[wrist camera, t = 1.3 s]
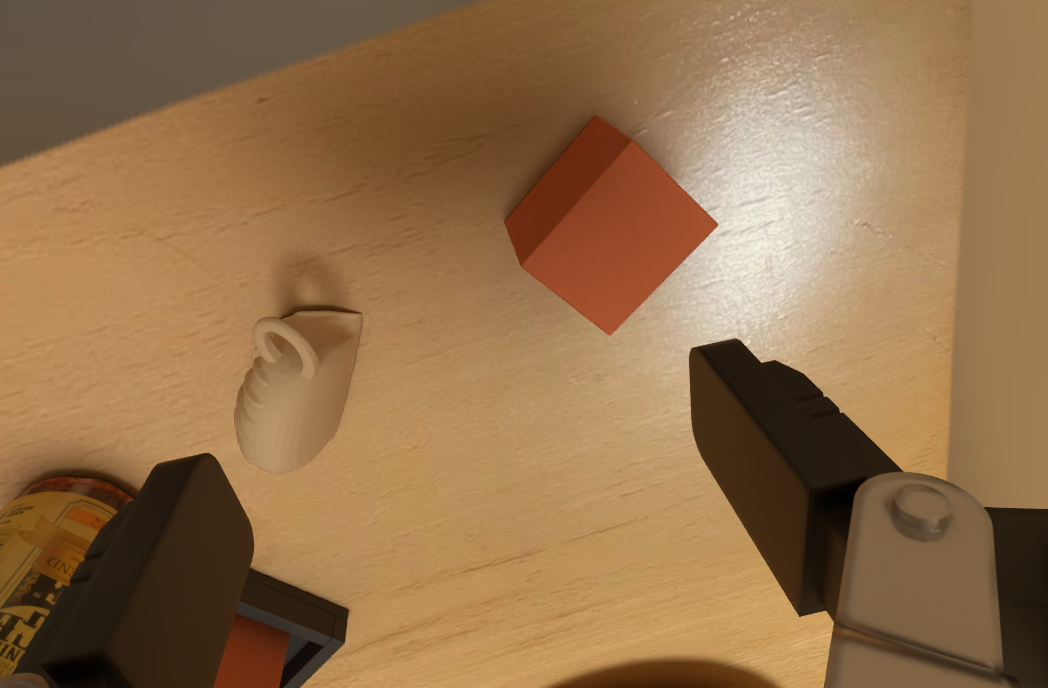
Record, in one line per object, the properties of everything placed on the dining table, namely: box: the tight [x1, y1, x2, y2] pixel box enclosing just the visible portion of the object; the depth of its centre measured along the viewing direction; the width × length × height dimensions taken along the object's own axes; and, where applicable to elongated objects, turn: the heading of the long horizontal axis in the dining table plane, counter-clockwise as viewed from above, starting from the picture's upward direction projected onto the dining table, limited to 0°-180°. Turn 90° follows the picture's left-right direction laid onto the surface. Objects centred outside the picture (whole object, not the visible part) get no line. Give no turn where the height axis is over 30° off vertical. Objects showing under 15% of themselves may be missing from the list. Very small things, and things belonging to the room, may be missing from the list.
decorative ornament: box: [234, 311, 362, 474], centre depth 25 cm, size 4×8×5 cm, turn 160°
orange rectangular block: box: [213, 613, 290, 688], centre depth 32 cm, size 4×6×5 cm
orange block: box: [505, 116, 718, 335], centre depth 24 cm, size 4×6×5 cm
